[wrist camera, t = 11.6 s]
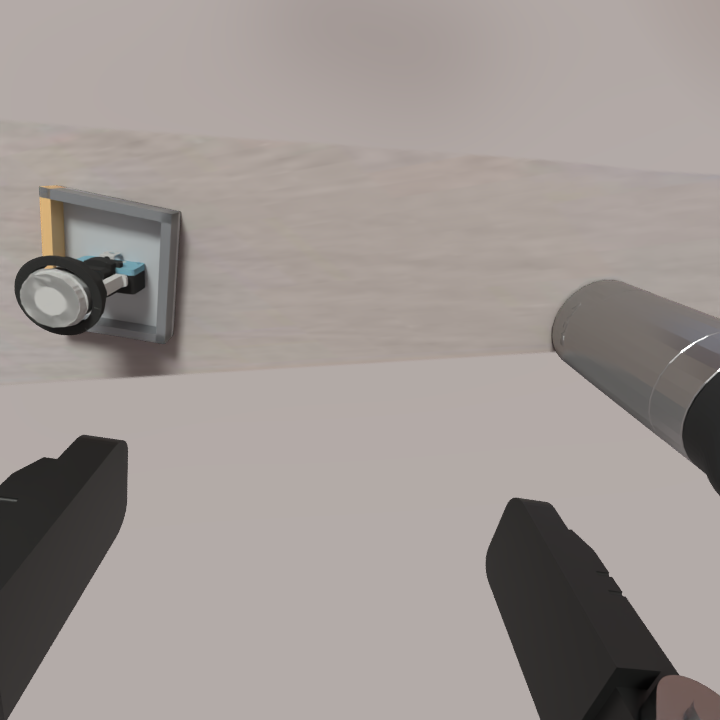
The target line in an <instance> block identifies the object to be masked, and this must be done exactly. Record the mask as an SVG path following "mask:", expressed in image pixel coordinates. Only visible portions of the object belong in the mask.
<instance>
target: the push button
mask: <svg viewBox="0 0 720 720" xmlns="http://www.w3.org/2000/svg"><path fill="white" fill-rule="evenodd" d="M111 253H114V254H111ZM120 254H121V253H120V252H113V251H106V252H103V253H102V254H100V257H96V256H83V257H81V258H78V259H74V258H71V257H68V256H65V257H61V256H54V255H49V256H42V257H38V258H35V259H32V260H30V261H29V262H27V263H26V264H24V265H23V266H22V267H21V269H20V270H19V272H18V274H17V276H16V279H15V295H16V298H17V301H18V304H19V305H20V307H21V309H22V310H23V312H24V313H25V314H26V316H27V317H28V318H29V319H30V320H31V321H33V322H34V323H35V324H36V325H38V326H39V327H41V328H43V329H45V330H47V331H49V332H52V333H55V334H60V335H76V334H80V333H83V332H85V331H87V330H89V329H90V328H92V327H93V326H94V325H95V324H96V323H97V322H98V321H99V319H100V318H101V316H102V314H103V313H104V309H105V303H106V298H107V297H110V296H112V295H113V294H115V293H123V294H130V295H134V294H136V293H138V292H139V291H141V290H142V289H144V288H145V266H144V263H141V262H131V261H124V260H117V259H114V257H115V256H117V255H120ZM46 266H56V267H55V268H52V269H44V268H45V267H46ZM90 312H91V313H90ZM88 313H90V315H89V317H88V318H87V319H84V317H85V315H86V314H88ZM82 319H84V320H82Z"/></svg>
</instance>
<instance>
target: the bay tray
mask: <svg viewBox="0 0 720 720" xmlns="http://www.w3.org/2000/svg"><path fill="white" fill-rule="evenodd" d="M39 196H40V215H41V234H42V253H43V256H49V255H54V256H61V257H65V256H68V257H71V258H74V259H78V258H81V257H83V256H96V257H100V254H102V253H103V252H106V251H113V252H120V253H121V254H120V255H117V256H115V257H114V259H117V260H124V261H131V262H141V263H144V266H145V288H144V289H142V290H141V291H139V292H138V293H136V294H134V295H130V294H123V293H115V294H113V295H112V296H110V297H107V298H106V303H105V309H104V313H103V314H102V316H101V318H100V319H99V321H98V322H97V323H96V324H95V325H94V326H93V327H92V328H90V329H89V330H87V331H88V332H94V333H101V334H107V335H113V336H119V337H125V338H131V339H137V340H143V341H149V342H155V343H161V344H165V343H166V342H167V341H168V340H169V339H170V338H171V337H172V335H173V329H174V313H175V297H176V281H177V264H178V248H179V232H180V216H181V212H180V211H176V210H171V209H166V208H161V207H157V206H152V205H147V204H142V203H138V202H133V201H128V200H123V199H119V198H114V197H109V196H104V195H100V194H95V193H90V192H85V191H81V190H76V189H71V188H66V187H62V186H57V185H56V186H39ZM111 254H114V253H111ZM55 267H56V266H46V267H45V268H44V269H52V268H55ZM90 313H91V312H90ZM90 313H88V314H86V315H85V317H84V319H87V318H88V317H89V315H90ZM84 319H82V320H84Z"/></svg>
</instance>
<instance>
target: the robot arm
mask: <svg viewBox="0 0 720 720" xmlns="http://www.w3.org/2000/svg"><path fill="white" fill-rule="evenodd" d="M552 339H553V345H554V348H555V350H556V353H557V354H558V355H559V357H560V358H561V359H562V360H563V361H564V362H566V363H567V364H568V365H569V366H571V367H572V368H573V369H574V370H576V371H577V372H578V373H579V374H581V375H582V376H583V377H584V378H585V379H587V380H588V381H589V382H590V383H592V384H593V385H594V386H595V387H597V388H598V389H599V390H600V391H602V392H603V393H604V394H605V395H607V396H608V397H609V398H610V399H612V400H613V401H614V402H616V403H617V404H618V405H619V406H621V407H622V408H623V409H624V410H626V411H627V412H628V413H629V414H631V415H632V416H633V417H634V418H636V419H637V420H638V421H640V422H641V423H642V424H643V425H645V426H646V427H647V428H648V429H650V430H651V431H652V432H653V433H655V434H656V435H657V436H659V437H660V438H661V439H663V440H664V441H665V442H667V443H668V444H669V445H670V446H671V447H673V448H674V449H675V450H676V451H678V452H679V453H680V454H682V455H683V456H684V457H686V458H687V459H688V460H689V461H690V462H692V463H693V464H694V465H696V466H697V467H698V468H699V469H701V470H702V471H703V472H704V473H706V475H707V477H708V479H709V481H710V483H711V484H712V486H713V488H714V489H715V491H716V492H717V493H718V494H719V495H720V319H719V318H717V317H714V316H711V315H709V314H706V313H703V312H701V311H698V310H695V309H693V308H690V307H687V306H685V305H682V304H679V303H677V302H674V301H671V300H669V299H666V298H663V297H661V296H658V295H655V294H653V293H651V292H648V291H645V290H642V289H640V288H637V287H634V286H632V285H629V284H626V283H624V282H620V281H615V280H603V281H598V282H594V283H591V284H589V285H587V286H584V287H583V288H581V289H580V290H578V291H577V292H575V293H574V294H573V295H572V296H571V297H570V298H569V299H567V301H566V302H565V303H564V305H563V306H562V307H561V308H560V310H559V312H558V314H557V316H556V318H555V322H554V325H553V332H552ZM127 470H128V447H127V443H126V442H125V441H123V440H117V439H110V438H103V437H95V436H89V435H82V436H80V437H78V438H77V439H76V440H75V441H74V442H73V443H72V444H71V445H70V446H69V448H67V450H65V451H64V452H63V454H62V455H61V456H60V457H59V458H58V459H53V458H46V457H44V458H42V459H40V460H37V461H36V462H34V463H32V464H30V465H28V466H26V467H24V468H22V469H20V470H18V471H16V472H14V473H13V474H11V475H10V477H8V478H7V479H6V480H5V481H4V482H3V483H2V484H1V485H0V720H7V719H8V717H9V716H10V714H11V712H12V711H13V709H14V707H15V705H16V704H17V702H18V701H19V699H20V697H21V696H22V694H23V692H24V691H25V689H26V687H27V685H28V684H29V682H30V680H31V679H32V677H33V675H34V674H35V672H36V670H37V669H38V667H39V665H40V664H41V662H42V660H43V659H44V657H45V655H46V654H47V652H48V650H49V649H50V646H51V645H52V643H53V642H54V640H55V639H56V637H57V635H58V633H59V632H60V630H61V629H62V627H63V625H64V624H65V621H66V620H67V618H68V617H69V615H70V613H71V612H72V610H73V608H74V607H75V605H76V603H77V602H78V600H79V598H80V597H81V595H82V593H83V592H84V590H85V588H86V587H87V585H88V583H89V582H90V580H91V578H92V577H93V575H94V573H95V572H96V570H97V568H98V566H99V565H100V563H101V561H102V560H103V558H104V557H105V555H106V553H107V551H108V550H109V548H110V546H111V545H112V543H113V541H114V540H115V538H116V536H117V534H118V532H119V530H120V528H121V525H122V523H123V519H124V516H125V512H126V506H127V472H128V471H127ZM486 573H487V578H488V582H489V584H490V587H491V590H492V592H493V595H494V598H495V600H496V603H497V606H498V608H499V611H500V613H501V616H502V619H503V621H504V624H505V627H506V629H507V632H508V634H509V637H510V640H511V643H512V645H513V648H514V651H515V653H516V656H517V659H518V661H519V664H520V667H521V669H522V672H523V675H524V677H525V680H526V683H527V685H528V688H529V691H530V693H531V696H532V698H533V701H534V703H535V706H536V709H537V712H538V714H539V717H540V720H720V696H719V695H718V694H717V693H716V692H714V691H712V690H711V689H710V688H708V687H706V686H705V685H703V684H701V683H699V682H697V681H695V680H693V679H690V678H687V677H684V676H680V675H679V674H678V673H677V671H676V670H675V668H674V667H673V665H672V664H671V662H670V661H669V659H668V658H667V657H666V655H665V654H664V652H663V651H662V649H661V648H660V646H659V645H658V643H657V642H656V641H655V639H654V638H653V636H652V635H651V633H650V632H649V630H648V629H647V627H646V626H645V624H644V623H643V622H642V620H641V619H640V617H639V616H638V614H637V613H636V611H635V610H634V608H633V607H632V605H631V604H630V603H629V602H628V600H627V598H626V597H624V596H622V591H621V590H620V588H619V587H618V585H617V584H616V582H615V581H614V579H613V578H612V577H609V572H608V570H607V569H606V568H605V566H604V565H603V563H602V562H601V560H600V559H599V557H598V556H597V554H596V553H595V552H594V550H593V549H592V548H591V547H590V546H589V545H587V544H586V543H585V542H584V541H583V540H582V539H581V538H580V537H579V536H578V535H577V534H576V533H574V532H573V531H572V530H568V528H567V527H566V525H565V524H564V522H563V521H562V519H561V517H560V516H559V515H558V513H557V511H556V510H555V508H554V507H553V506H552V505H551V504H550V503H548V502H542V501H535V500H528V499H521V498H512V499H511V500H510V501H509V502H508V504H507V506H506V508H505V510H504V513H503V515H502V517H501V520H500V522H499V525H498V527H497V529H496V532H495V534H494V536H493V538H492V541H491V543H490V545H489V548H488V551H487V555H486Z"/></svg>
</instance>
